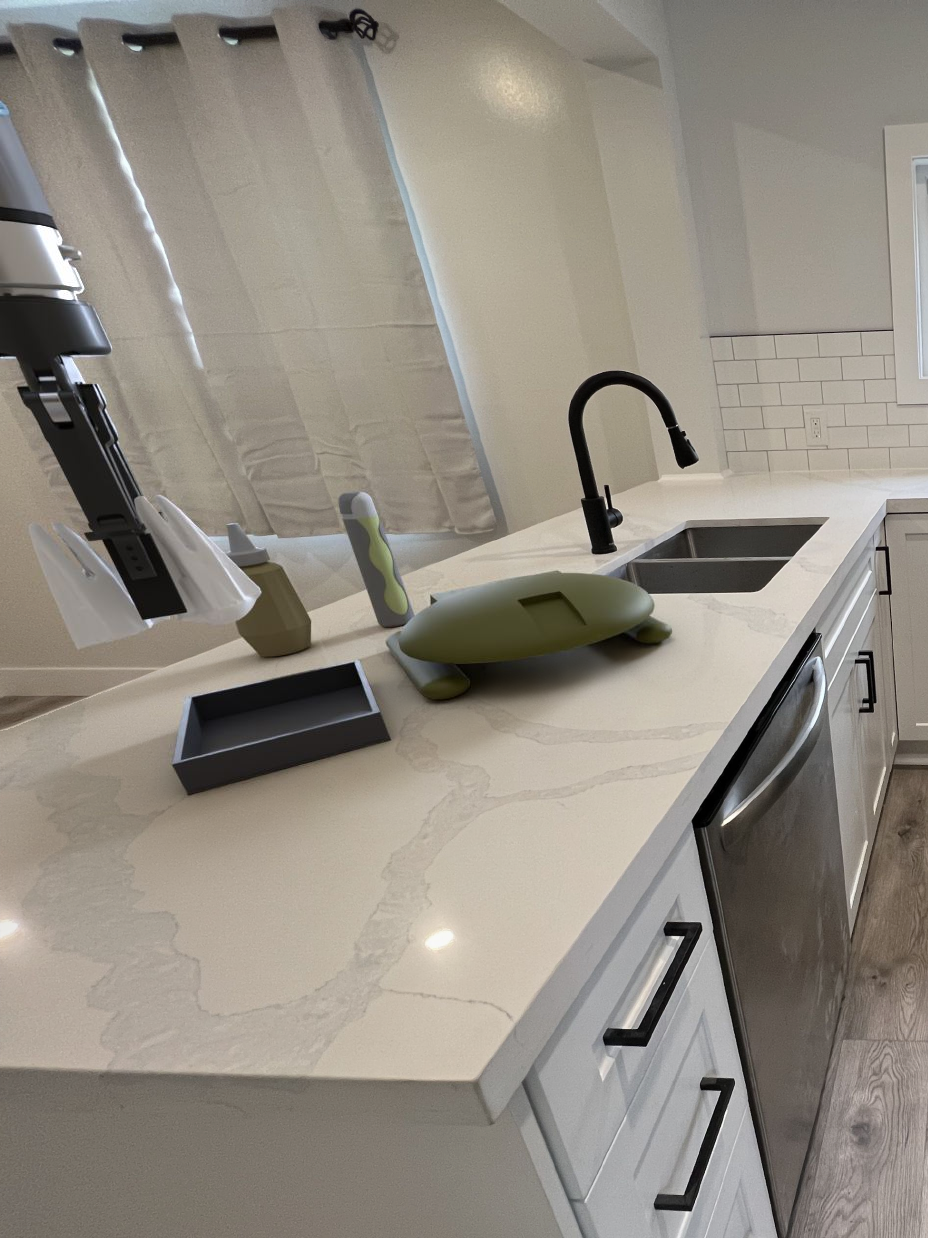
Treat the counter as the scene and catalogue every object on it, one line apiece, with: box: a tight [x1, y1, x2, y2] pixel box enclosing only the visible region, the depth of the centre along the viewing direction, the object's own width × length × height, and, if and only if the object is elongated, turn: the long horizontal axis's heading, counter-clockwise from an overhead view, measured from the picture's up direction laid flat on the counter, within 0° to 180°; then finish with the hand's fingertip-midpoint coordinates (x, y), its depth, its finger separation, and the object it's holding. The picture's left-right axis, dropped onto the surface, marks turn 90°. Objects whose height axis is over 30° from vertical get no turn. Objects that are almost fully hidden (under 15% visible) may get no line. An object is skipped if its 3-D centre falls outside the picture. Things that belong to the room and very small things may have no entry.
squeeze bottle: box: [224, 522, 312, 657], centre depth 104 cm, size 8×8×18 cm
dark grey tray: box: [171, 659, 392, 796], centre depth 82 cm, size 21×16×3 cm
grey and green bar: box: [337, 490, 416, 628], centre depth 114 cm, size 5×5×20 cm
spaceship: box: [385, 569, 673, 700], centre depth 103 cm, size 35×31×10 cm
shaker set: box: [27, 494, 261, 650], centre depth 62 cm, size 12×4×11 cm, turn 120°
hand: (167, 608), depth 64 cm, fingers closed on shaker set, 5 cm apart
